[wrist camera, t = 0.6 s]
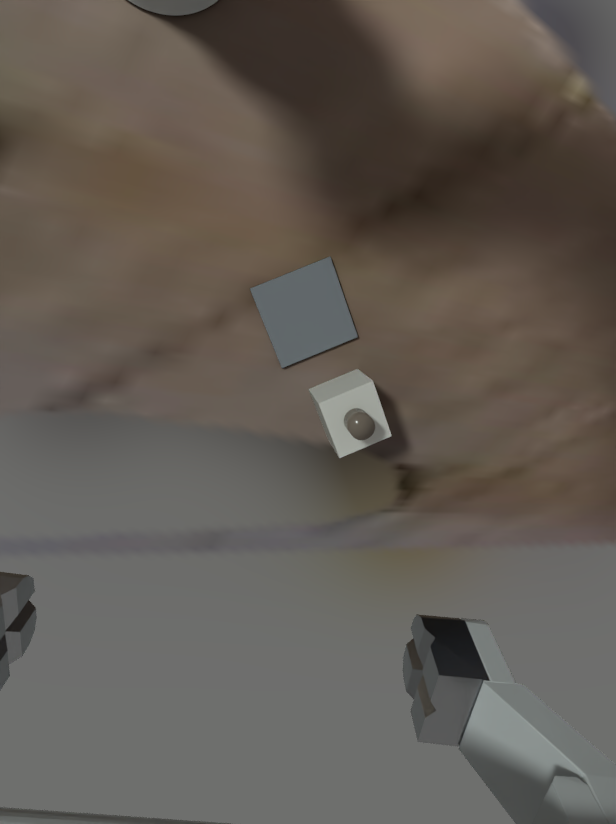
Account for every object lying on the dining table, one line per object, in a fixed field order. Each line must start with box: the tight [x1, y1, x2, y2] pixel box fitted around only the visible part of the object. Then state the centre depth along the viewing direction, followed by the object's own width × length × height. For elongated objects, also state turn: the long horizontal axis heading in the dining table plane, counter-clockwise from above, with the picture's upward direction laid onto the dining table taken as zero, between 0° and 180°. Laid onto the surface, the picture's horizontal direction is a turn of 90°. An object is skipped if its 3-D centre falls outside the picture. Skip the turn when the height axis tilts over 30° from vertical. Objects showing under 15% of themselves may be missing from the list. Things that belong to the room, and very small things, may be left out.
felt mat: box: [250, 257, 358, 368], centre depth 53 cm, size 9×9×1 cm
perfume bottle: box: [309, 369, 392, 458], centre depth 53 cm, size 6×6×8 cm
